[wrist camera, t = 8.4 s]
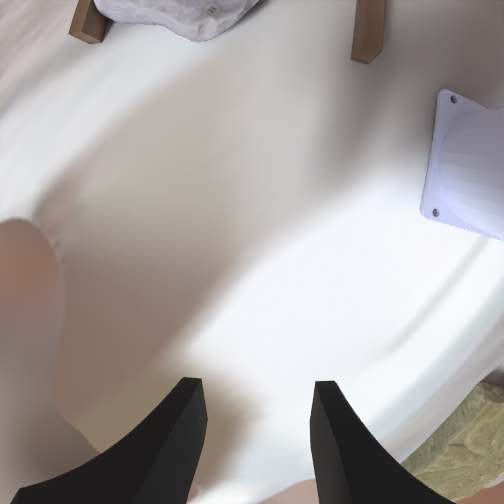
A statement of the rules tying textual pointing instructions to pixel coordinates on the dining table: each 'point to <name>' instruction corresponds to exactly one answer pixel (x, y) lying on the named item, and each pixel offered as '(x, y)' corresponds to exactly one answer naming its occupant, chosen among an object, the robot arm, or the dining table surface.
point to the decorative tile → (464, 446)
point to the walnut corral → (364, 41)
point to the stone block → (179, 15)
